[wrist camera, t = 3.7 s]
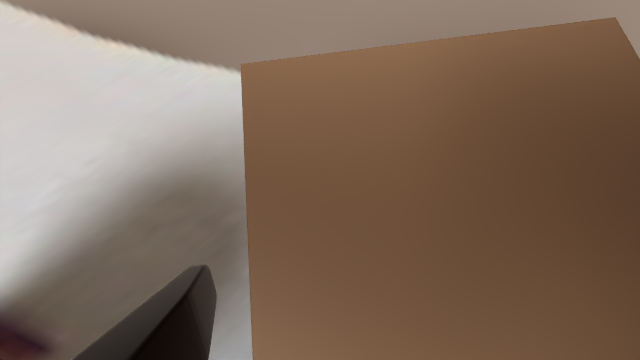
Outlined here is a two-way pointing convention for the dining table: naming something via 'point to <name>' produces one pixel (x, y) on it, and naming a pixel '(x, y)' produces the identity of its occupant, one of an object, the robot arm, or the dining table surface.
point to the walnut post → (447, 199)
